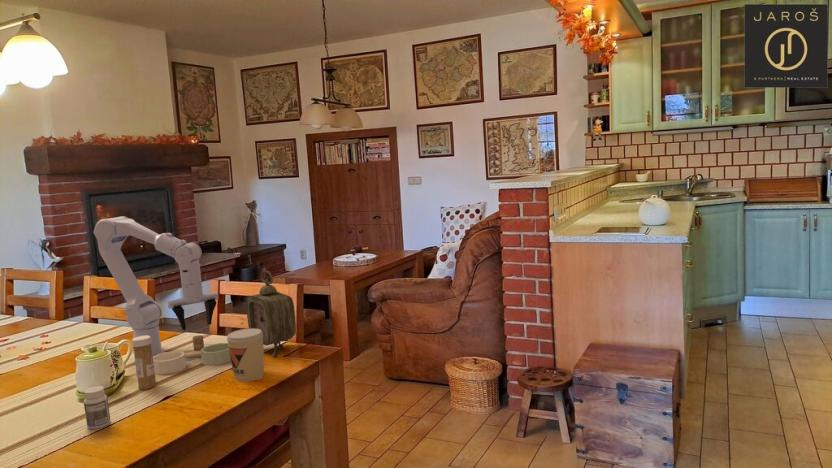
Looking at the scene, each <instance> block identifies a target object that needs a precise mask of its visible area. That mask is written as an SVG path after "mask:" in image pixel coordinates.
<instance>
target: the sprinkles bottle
mask: <svg viewBox="0 0 832 468" xmlns="http://www.w3.org/2000/svg"><path fill="white" fill-rule="evenodd" d="M131 345H132V347H133V351H134V354H133V356H134V364H135V371H136V377H137V384H138V389H139V390H150V389H152V388H154V387H155V386H157V380H156V379H157V378H156V374H155V370H154V362H153V356H152V349H151V337H150V336H139V337H135V338H134V337H133V338H132V340H131ZM149 388H150V389H149Z"/></svg>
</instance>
